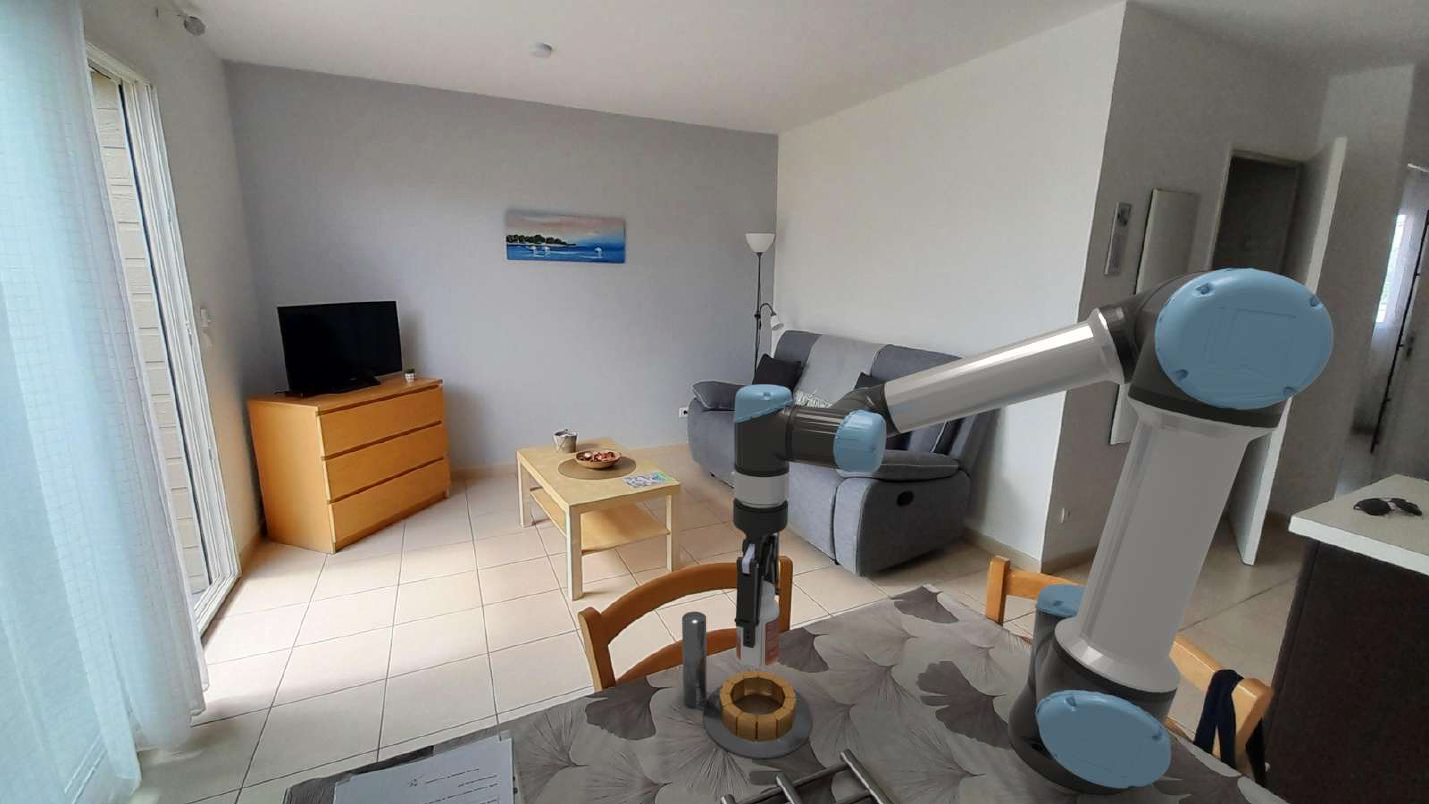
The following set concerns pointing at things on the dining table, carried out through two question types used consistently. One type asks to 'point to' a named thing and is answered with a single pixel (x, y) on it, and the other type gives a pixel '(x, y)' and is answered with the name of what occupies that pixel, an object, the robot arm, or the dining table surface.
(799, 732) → the round base with peg
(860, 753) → the dining table surface
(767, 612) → the pill bottle
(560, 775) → the dining table surface
